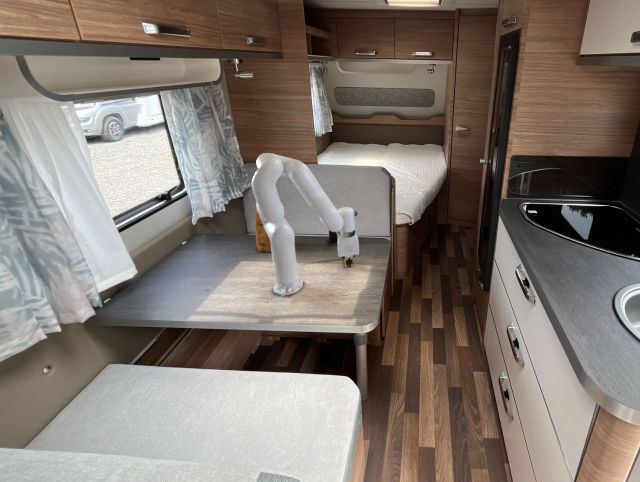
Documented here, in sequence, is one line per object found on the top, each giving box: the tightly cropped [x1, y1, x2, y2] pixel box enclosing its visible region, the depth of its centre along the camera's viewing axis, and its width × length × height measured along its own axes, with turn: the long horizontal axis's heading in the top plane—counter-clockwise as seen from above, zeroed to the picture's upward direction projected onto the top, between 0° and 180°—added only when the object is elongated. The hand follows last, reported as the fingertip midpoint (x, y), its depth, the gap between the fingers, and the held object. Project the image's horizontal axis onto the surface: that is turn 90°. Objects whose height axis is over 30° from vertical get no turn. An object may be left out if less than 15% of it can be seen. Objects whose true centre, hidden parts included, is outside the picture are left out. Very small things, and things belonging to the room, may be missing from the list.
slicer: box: [328, 229, 338, 245], centre depth 189 cm, size 5×6×13 cm
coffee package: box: [254, 210, 271, 253], centre depth 180 cm, size 10×12×22 cm
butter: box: [343, 256, 354, 268], centre depth 170 cm, size 7×4×4 cm, turn 15°
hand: (349, 265), depth 166 cm, fingers closed
